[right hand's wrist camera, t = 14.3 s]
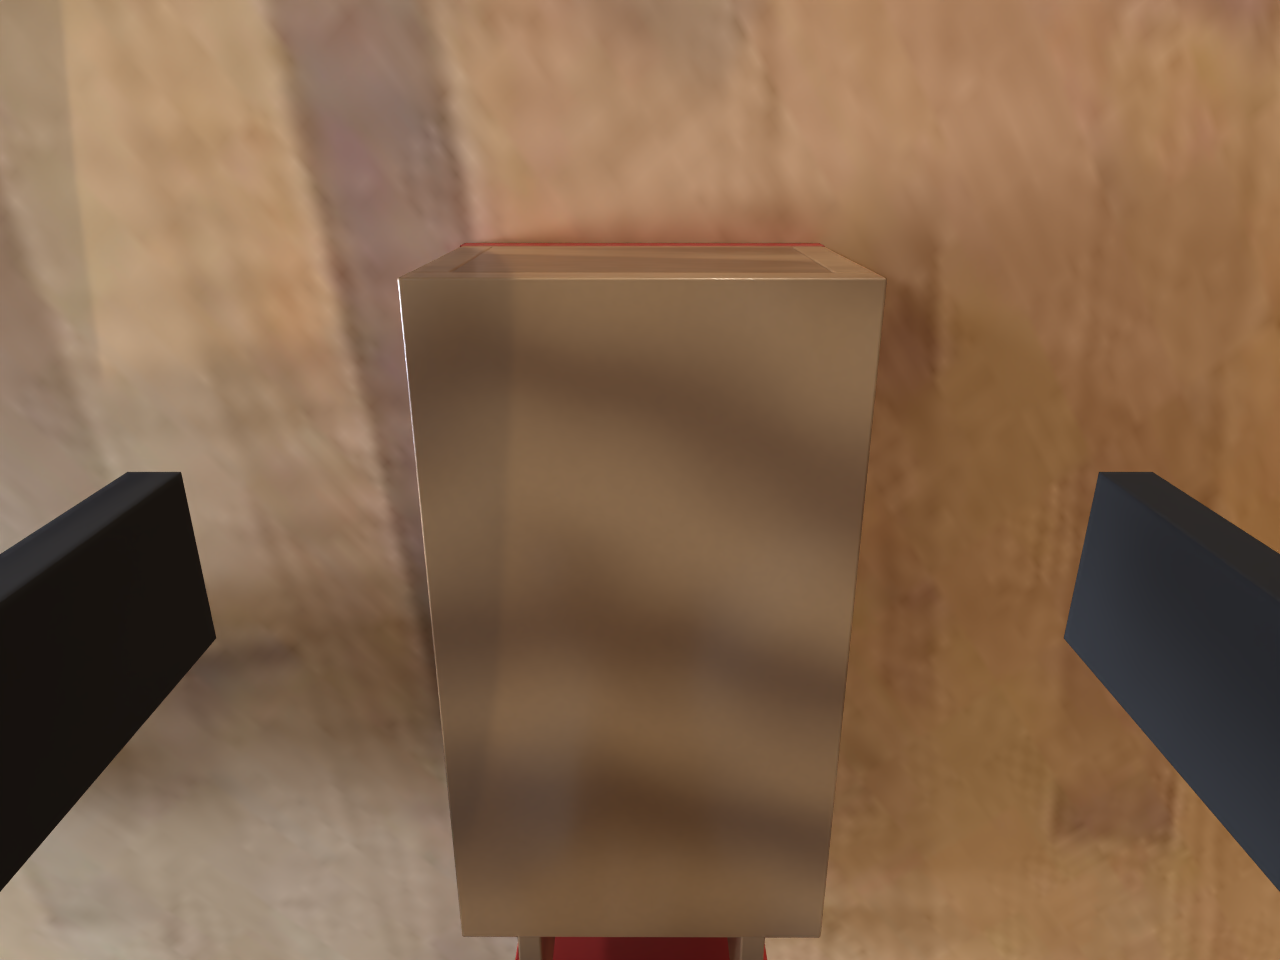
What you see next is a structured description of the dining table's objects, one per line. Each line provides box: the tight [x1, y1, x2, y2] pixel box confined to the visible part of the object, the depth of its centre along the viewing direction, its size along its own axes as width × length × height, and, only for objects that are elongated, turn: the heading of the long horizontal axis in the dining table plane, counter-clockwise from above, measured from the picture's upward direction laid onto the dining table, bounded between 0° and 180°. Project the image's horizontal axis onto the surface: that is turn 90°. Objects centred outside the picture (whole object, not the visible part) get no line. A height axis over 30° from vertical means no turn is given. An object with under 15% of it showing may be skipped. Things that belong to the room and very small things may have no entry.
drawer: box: [515, 937, 767, 960], centre depth 32 cm, size 25×10×6 cm, turn 0°
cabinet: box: [398, 243, 887, 938], centre depth 27 cm, size 21×11×8 cm, turn 0°
